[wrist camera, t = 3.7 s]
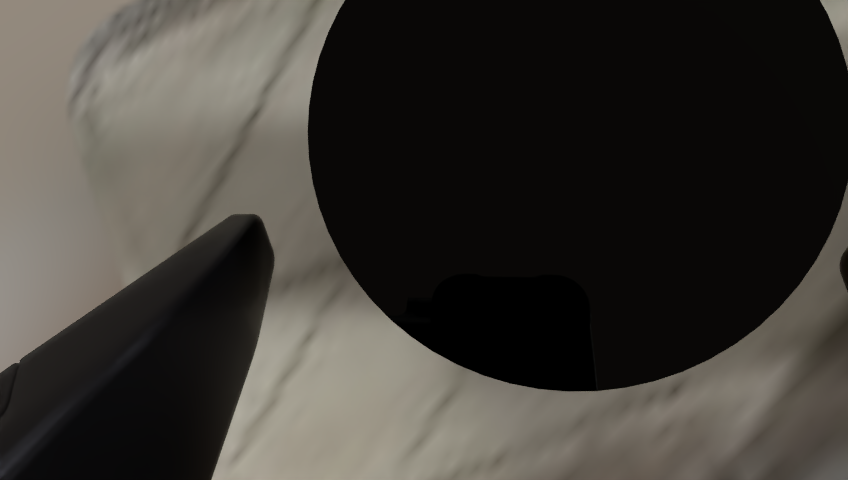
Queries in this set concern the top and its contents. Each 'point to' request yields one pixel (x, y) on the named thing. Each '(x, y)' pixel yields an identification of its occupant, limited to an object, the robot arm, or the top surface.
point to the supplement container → (579, 175)
